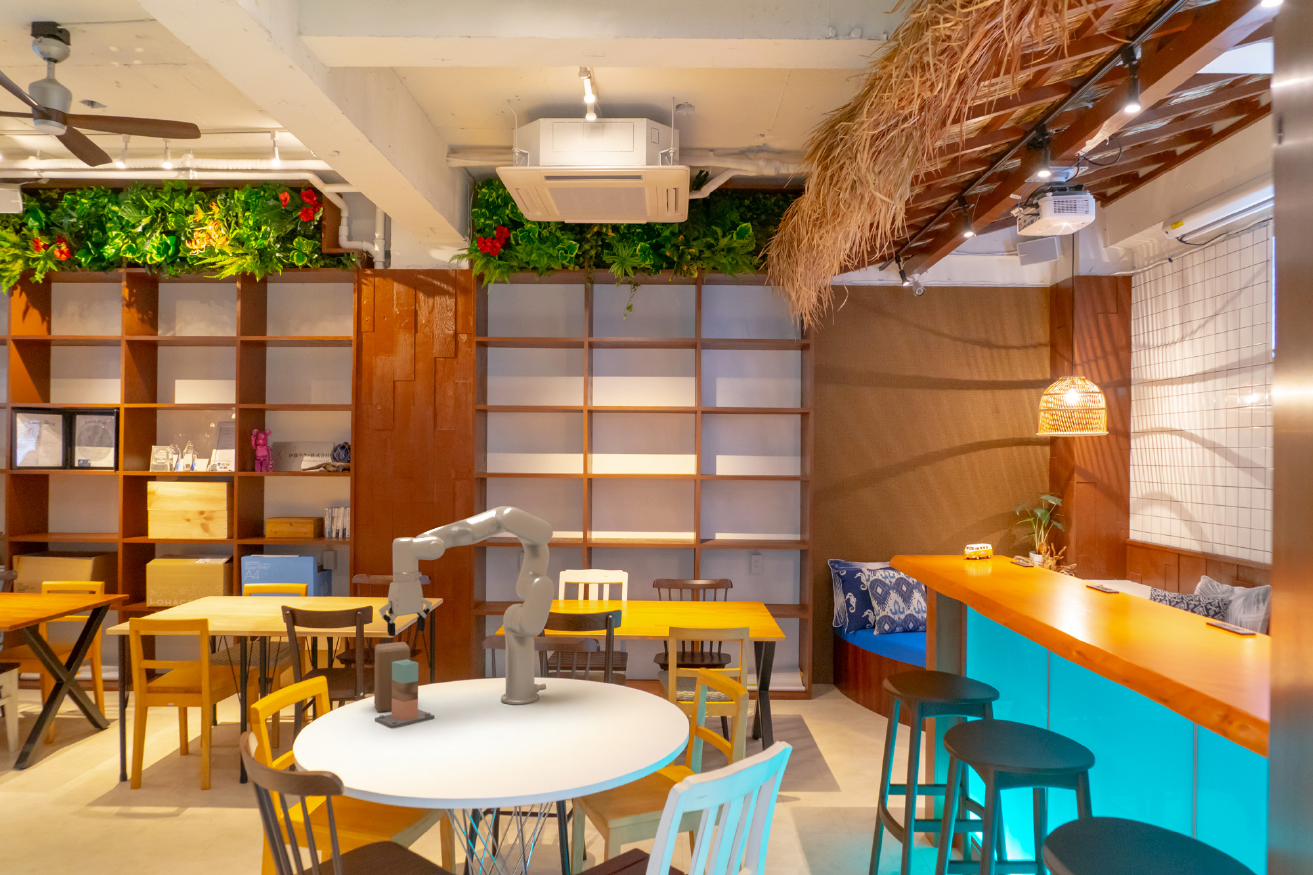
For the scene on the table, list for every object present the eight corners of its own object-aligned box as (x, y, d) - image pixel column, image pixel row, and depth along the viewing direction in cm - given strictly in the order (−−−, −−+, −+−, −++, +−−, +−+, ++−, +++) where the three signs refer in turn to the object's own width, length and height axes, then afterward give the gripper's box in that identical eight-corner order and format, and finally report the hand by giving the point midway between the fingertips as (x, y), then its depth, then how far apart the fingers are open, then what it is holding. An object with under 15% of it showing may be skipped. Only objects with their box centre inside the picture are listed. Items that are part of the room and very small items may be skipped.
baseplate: (416, 711, 263) (416, 690, 263) (434, 718, 255) (434, 697, 255) (374, 721, 253) (374, 699, 253) (391, 728, 245) (392, 706, 245)
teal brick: (406, 677, 259) (406, 659, 259) (418, 680, 254) (418, 662, 254) (392, 679, 255) (392, 661, 255) (403, 683, 250) (403, 665, 251)
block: (374, 705, 271) (374, 643, 271) (405, 701, 275) (405, 641, 276) (377, 713, 261) (378, 649, 262) (410, 709, 266) (410, 646, 267)
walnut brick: (406, 694, 259) (406, 676, 259) (418, 698, 254) (418, 680, 254) (391, 697, 255) (391, 679, 255) (403, 702, 250) (403, 683, 250)
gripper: (424, 573, 265) (425, 627, 264) (373, 579, 253) (374, 636, 252) (436, 575, 260) (437, 630, 259) (385, 581, 247) (386, 639, 247)
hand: (406, 633), depth 255 cm, fingers open, 9 cm apart
